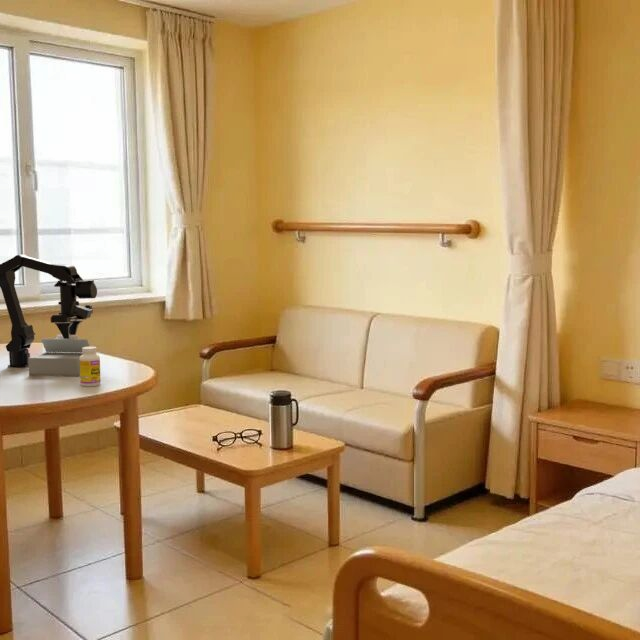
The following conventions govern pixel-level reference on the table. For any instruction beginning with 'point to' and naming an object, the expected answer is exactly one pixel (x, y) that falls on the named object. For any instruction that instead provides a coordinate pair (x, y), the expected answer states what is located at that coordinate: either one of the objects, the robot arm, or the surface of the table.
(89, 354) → the supplement bottle
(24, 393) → the table surface
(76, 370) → the cabinet
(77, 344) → the rear flap
